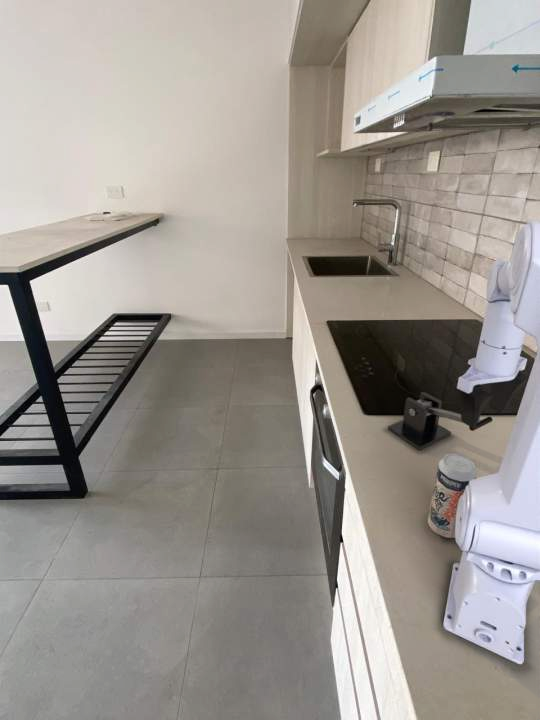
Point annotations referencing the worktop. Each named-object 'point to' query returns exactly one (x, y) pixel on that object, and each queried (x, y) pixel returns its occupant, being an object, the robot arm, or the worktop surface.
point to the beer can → (449, 492)
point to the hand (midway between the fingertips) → (482, 417)
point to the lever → (452, 415)
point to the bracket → (420, 424)
